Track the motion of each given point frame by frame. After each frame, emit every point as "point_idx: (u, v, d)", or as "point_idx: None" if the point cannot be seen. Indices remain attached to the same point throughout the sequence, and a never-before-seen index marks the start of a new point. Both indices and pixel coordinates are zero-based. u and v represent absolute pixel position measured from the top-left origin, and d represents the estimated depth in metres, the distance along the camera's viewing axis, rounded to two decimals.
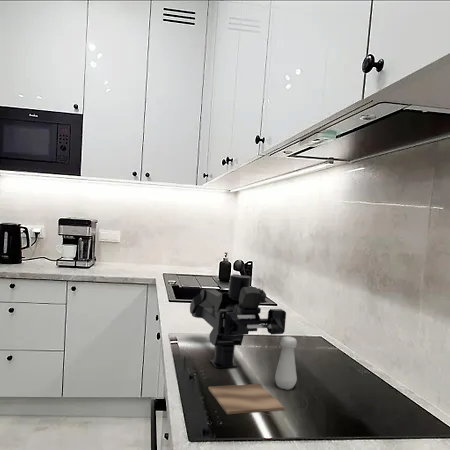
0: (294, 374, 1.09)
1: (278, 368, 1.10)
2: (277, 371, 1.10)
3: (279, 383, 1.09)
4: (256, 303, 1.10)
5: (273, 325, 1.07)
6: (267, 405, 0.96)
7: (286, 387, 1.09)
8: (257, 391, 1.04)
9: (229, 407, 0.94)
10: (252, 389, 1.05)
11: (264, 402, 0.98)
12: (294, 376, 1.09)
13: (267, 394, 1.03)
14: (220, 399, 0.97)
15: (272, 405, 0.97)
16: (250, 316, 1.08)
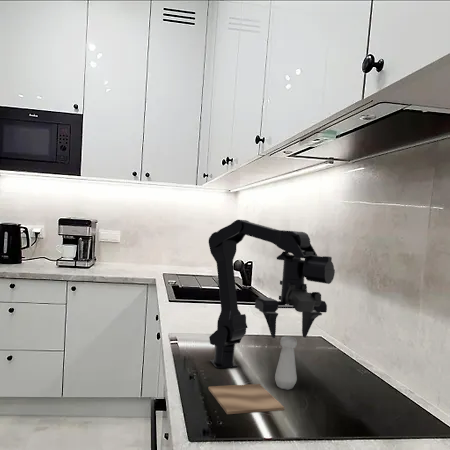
0: (294, 374, 1.09)
1: (278, 368, 1.10)
2: (277, 371, 1.10)
3: (279, 383, 1.09)
4: None
5: (306, 317, 1.12)
6: (267, 405, 0.96)
7: (286, 387, 1.09)
8: (257, 391, 1.04)
9: (229, 407, 0.94)
10: (252, 389, 1.05)
11: (264, 402, 0.98)
12: (294, 376, 1.09)
13: (267, 394, 1.03)
14: (220, 399, 0.97)
15: (272, 405, 0.97)
16: (292, 306, 1.09)
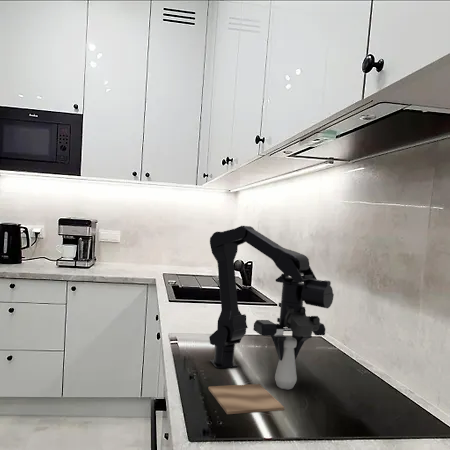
0: (294, 374, 1.09)
1: (278, 368, 1.10)
2: (277, 371, 1.10)
3: (279, 383, 1.09)
4: None
5: None
6: (267, 405, 0.96)
7: (286, 387, 1.09)
8: (257, 391, 1.04)
9: (229, 407, 0.94)
10: (252, 389, 1.05)
11: (264, 402, 0.98)
12: (294, 376, 1.09)
13: (267, 394, 1.03)
14: (220, 399, 0.97)
15: (272, 405, 0.97)
16: None
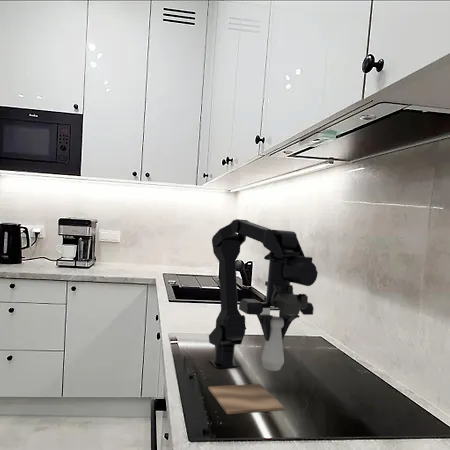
0: (281, 355, 1.05)
1: (264, 349, 1.06)
2: (264, 352, 1.06)
3: (266, 364, 1.05)
4: None
5: None
6: (267, 405, 0.96)
7: (273, 368, 1.04)
8: (257, 391, 1.04)
9: (229, 407, 0.94)
10: (252, 389, 1.05)
11: (264, 402, 0.98)
12: (281, 357, 1.05)
13: (267, 394, 1.03)
14: (220, 399, 0.97)
15: (272, 405, 0.97)
16: None
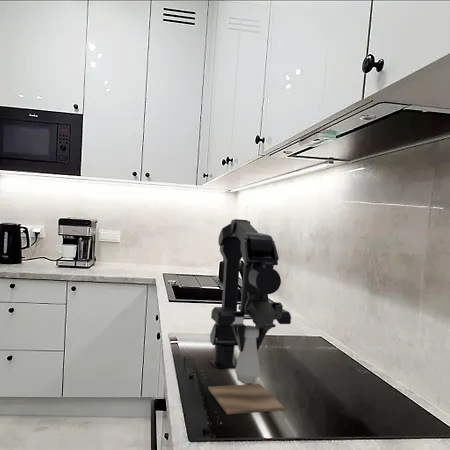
0: (256, 367, 0.99)
1: (238, 361, 1.00)
2: (238, 364, 1.00)
3: (239, 377, 0.99)
4: None
5: None
6: (267, 405, 0.96)
7: (247, 381, 0.98)
8: (257, 391, 1.04)
9: (229, 407, 0.94)
10: (252, 389, 1.05)
11: (264, 402, 0.98)
12: (256, 369, 0.99)
13: (267, 394, 1.03)
14: (220, 399, 0.97)
15: (272, 405, 0.97)
16: None
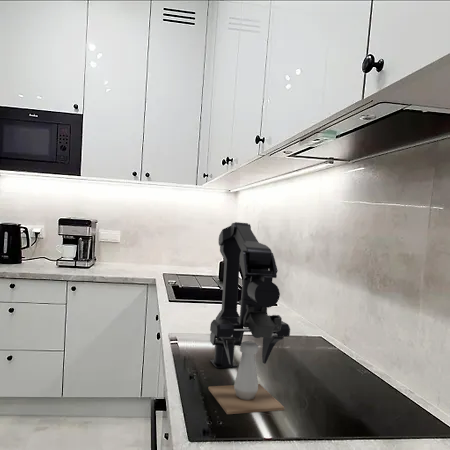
0: (255, 383, 0.99)
1: (237, 377, 1.00)
2: (236, 380, 1.00)
3: (238, 393, 0.99)
4: None
5: (266, 341, 1.02)
6: (267, 405, 0.96)
7: (246, 397, 0.98)
8: (257, 391, 1.04)
9: (229, 407, 0.94)
10: None
11: (264, 402, 0.98)
12: (255, 385, 0.99)
13: (267, 394, 1.03)
14: (220, 399, 0.97)
15: (272, 405, 0.97)
16: None
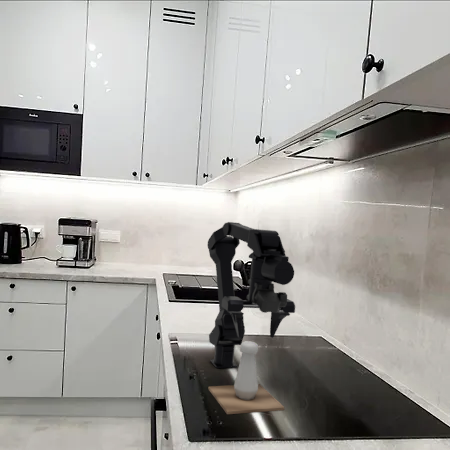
0: (255, 383, 0.99)
1: (237, 377, 1.00)
2: (236, 380, 1.00)
3: (238, 393, 0.99)
4: None
5: (274, 317, 1.11)
6: (267, 405, 0.96)
7: (246, 397, 0.98)
8: (257, 391, 1.04)
9: (229, 407, 0.94)
10: None
11: (264, 402, 0.98)
12: (255, 385, 0.99)
13: (267, 394, 1.03)
14: (220, 399, 0.97)
15: (272, 405, 0.97)
16: None
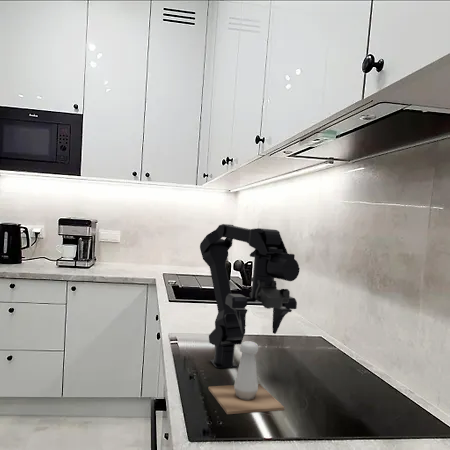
0: (255, 383, 0.99)
1: (237, 377, 1.00)
2: (236, 380, 1.00)
3: (238, 393, 0.99)
4: None
5: (276, 314, 1.14)
6: (267, 405, 0.96)
7: (246, 397, 0.98)
8: (257, 391, 1.04)
9: (229, 407, 0.94)
10: None
11: (264, 402, 0.98)
12: (255, 385, 0.99)
13: (267, 394, 1.03)
14: (220, 399, 0.97)
15: (272, 405, 0.97)
16: (262, 303, 1.11)
